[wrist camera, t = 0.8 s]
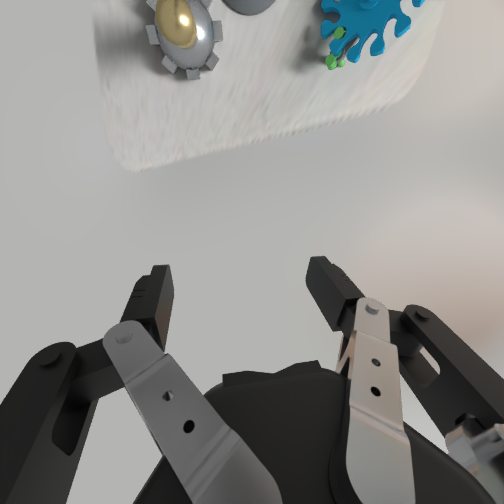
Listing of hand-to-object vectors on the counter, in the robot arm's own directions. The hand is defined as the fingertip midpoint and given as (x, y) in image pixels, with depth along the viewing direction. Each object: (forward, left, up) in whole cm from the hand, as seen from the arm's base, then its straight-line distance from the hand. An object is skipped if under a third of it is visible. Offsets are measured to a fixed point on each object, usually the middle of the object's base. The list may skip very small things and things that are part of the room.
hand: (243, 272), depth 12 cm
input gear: (-9, +7, -26) cm, 29 cm away
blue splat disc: (+3, +21, -27) cm, 34 cm away
